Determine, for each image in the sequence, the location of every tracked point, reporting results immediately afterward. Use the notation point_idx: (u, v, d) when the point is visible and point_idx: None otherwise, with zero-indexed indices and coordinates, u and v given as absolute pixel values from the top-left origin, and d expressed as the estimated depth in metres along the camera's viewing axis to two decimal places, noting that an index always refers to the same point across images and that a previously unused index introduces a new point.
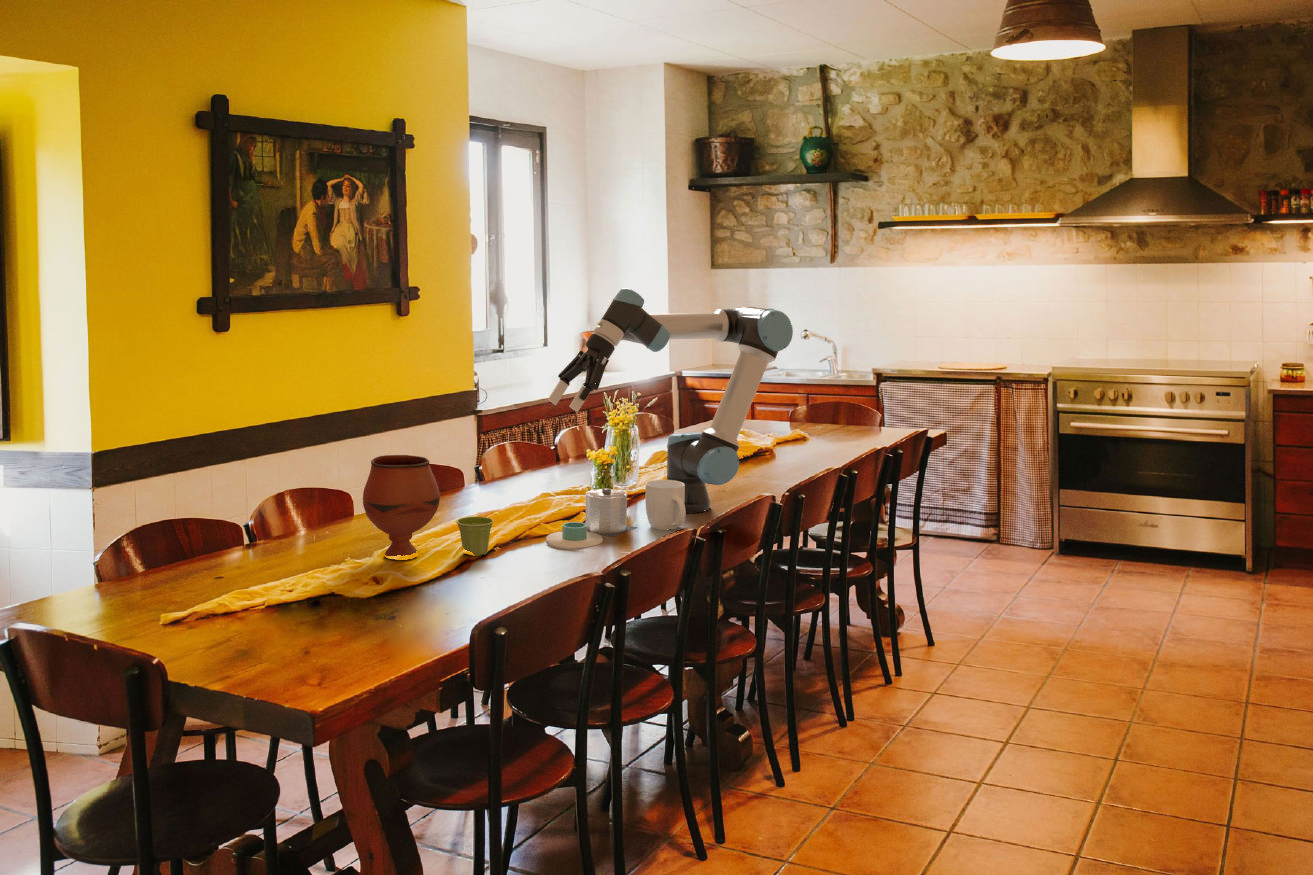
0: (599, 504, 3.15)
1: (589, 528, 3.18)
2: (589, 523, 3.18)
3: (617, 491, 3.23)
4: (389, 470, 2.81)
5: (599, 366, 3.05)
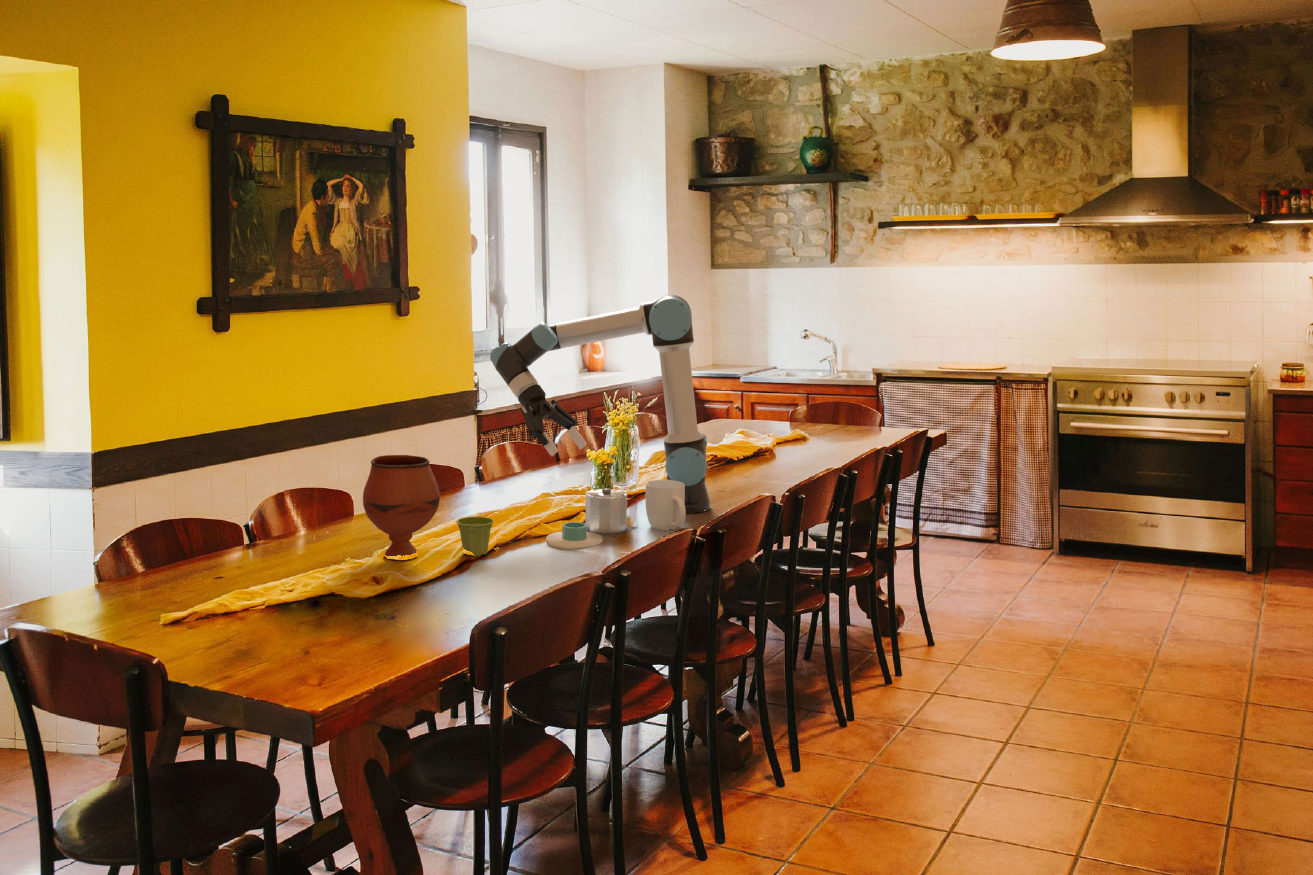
0: (599, 504, 3.15)
1: (589, 528, 3.18)
2: (589, 523, 3.18)
3: (617, 491, 3.23)
4: (389, 470, 2.81)
5: (525, 417, 3.21)
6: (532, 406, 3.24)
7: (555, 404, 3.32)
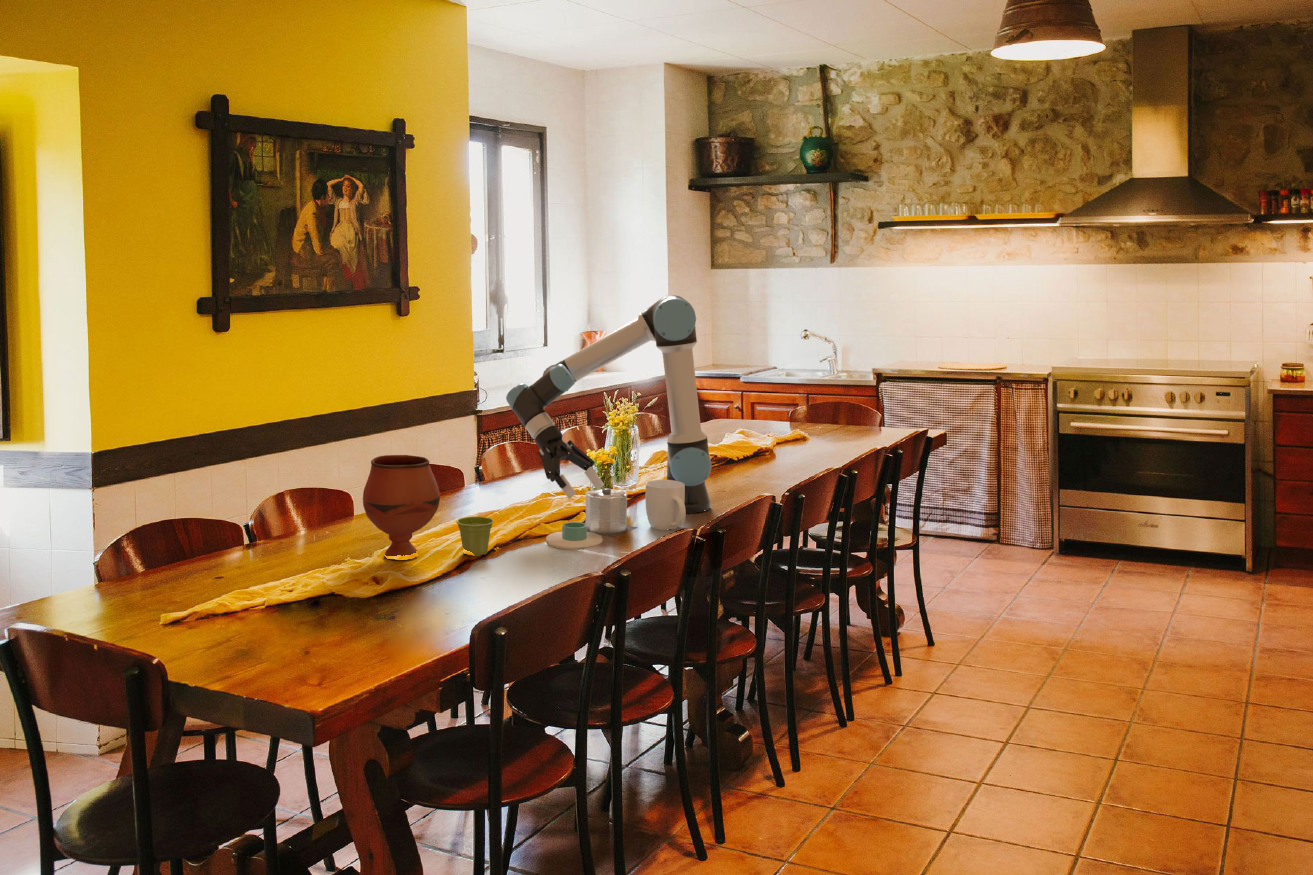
0: (599, 504, 3.15)
1: (589, 528, 3.18)
2: (589, 523, 3.18)
3: (617, 491, 3.23)
4: (389, 470, 2.81)
5: (542, 459, 3.20)
6: (549, 448, 3.23)
7: (572, 445, 3.31)
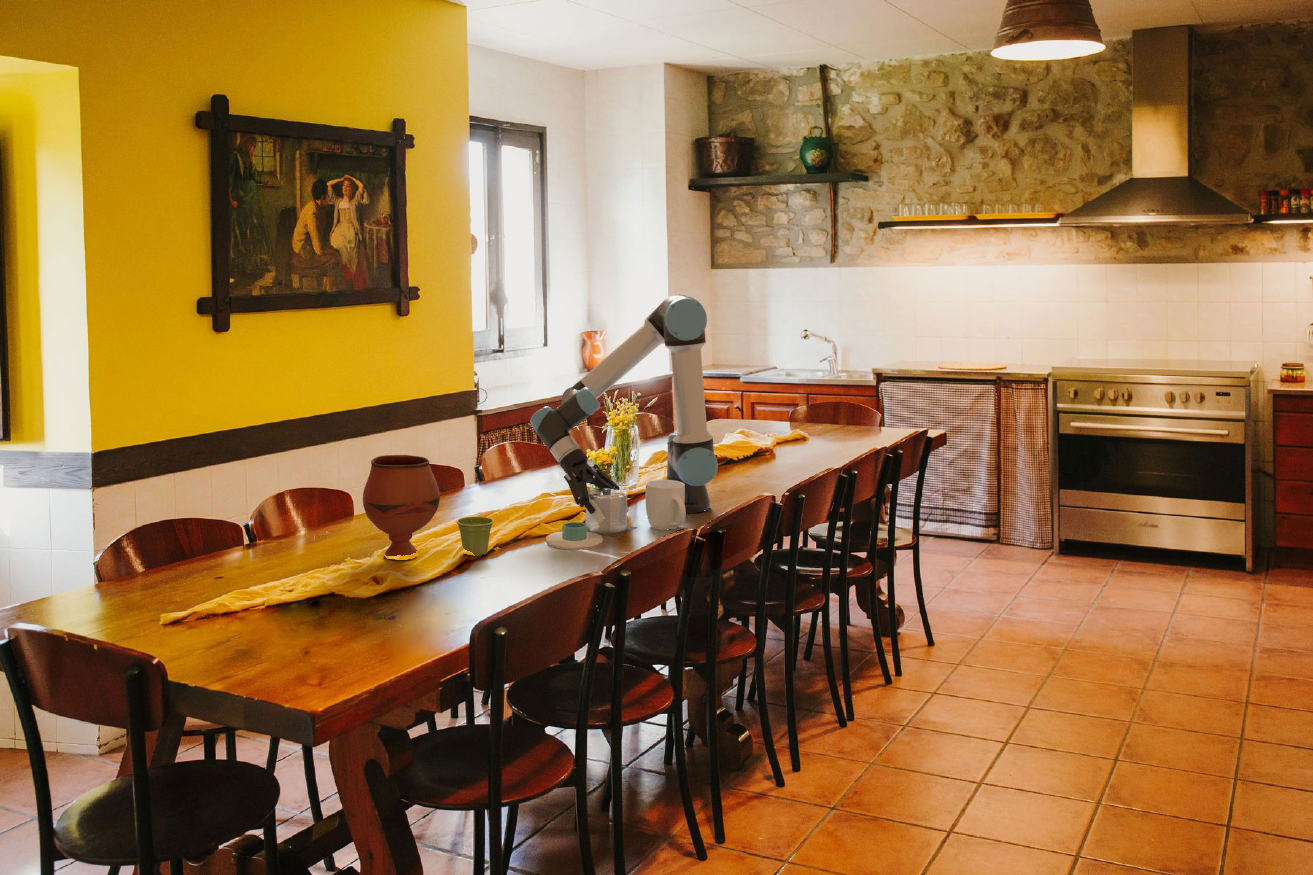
0: (599, 504, 3.15)
1: (589, 528, 3.18)
2: (589, 523, 3.18)
3: (617, 491, 3.23)
4: (389, 470, 2.81)
5: (570, 484, 3.17)
6: (575, 472, 3.20)
7: (597, 468, 3.28)
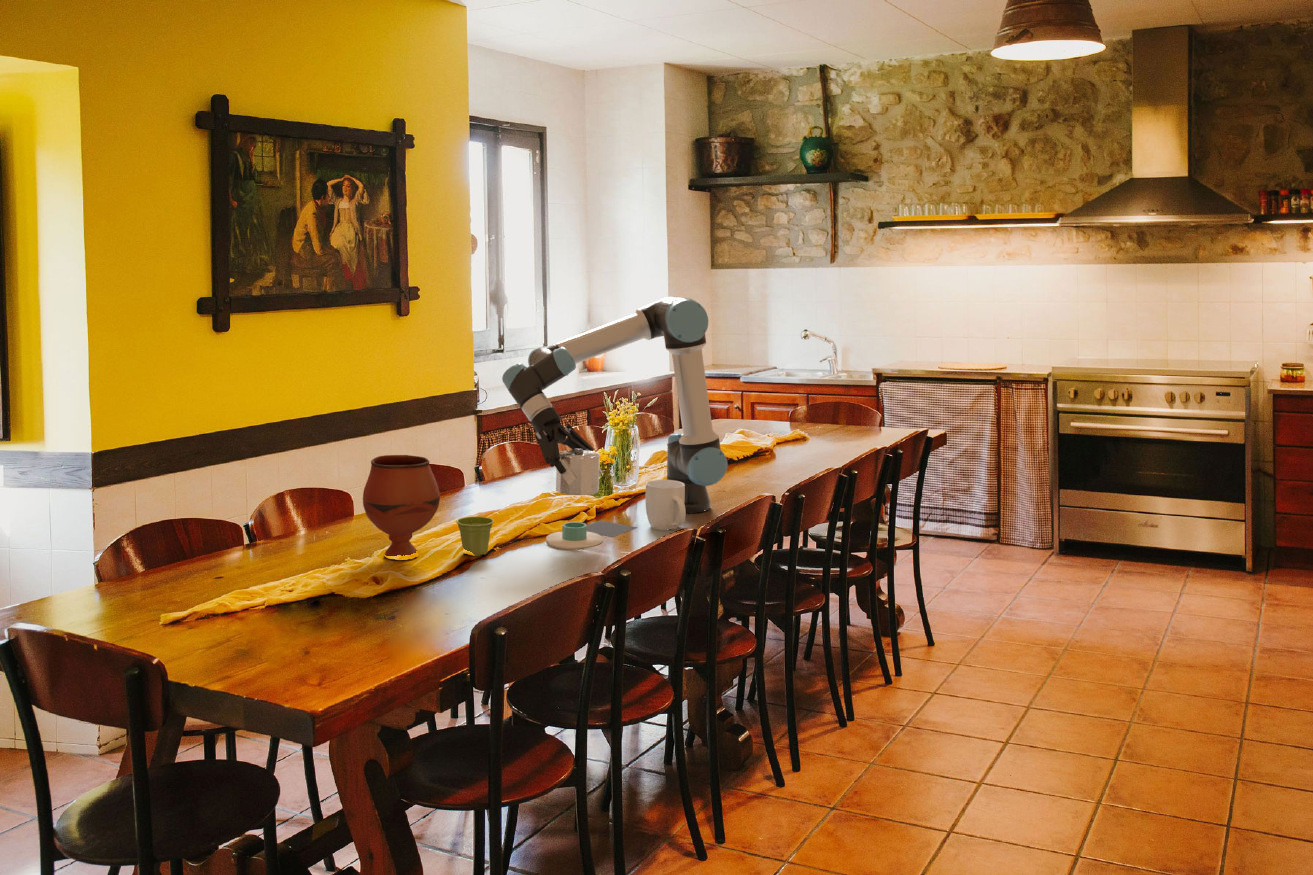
0: (570, 464, 3.03)
1: (559, 489, 3.06)
2: (559, 484, 3.06)
3: (590, 452, 3.11)
4: (389, 470, 2.81)
5: (540, 443, 3.05)
6: (546, 431, 3.08)
7: (571, 429, 3.16)
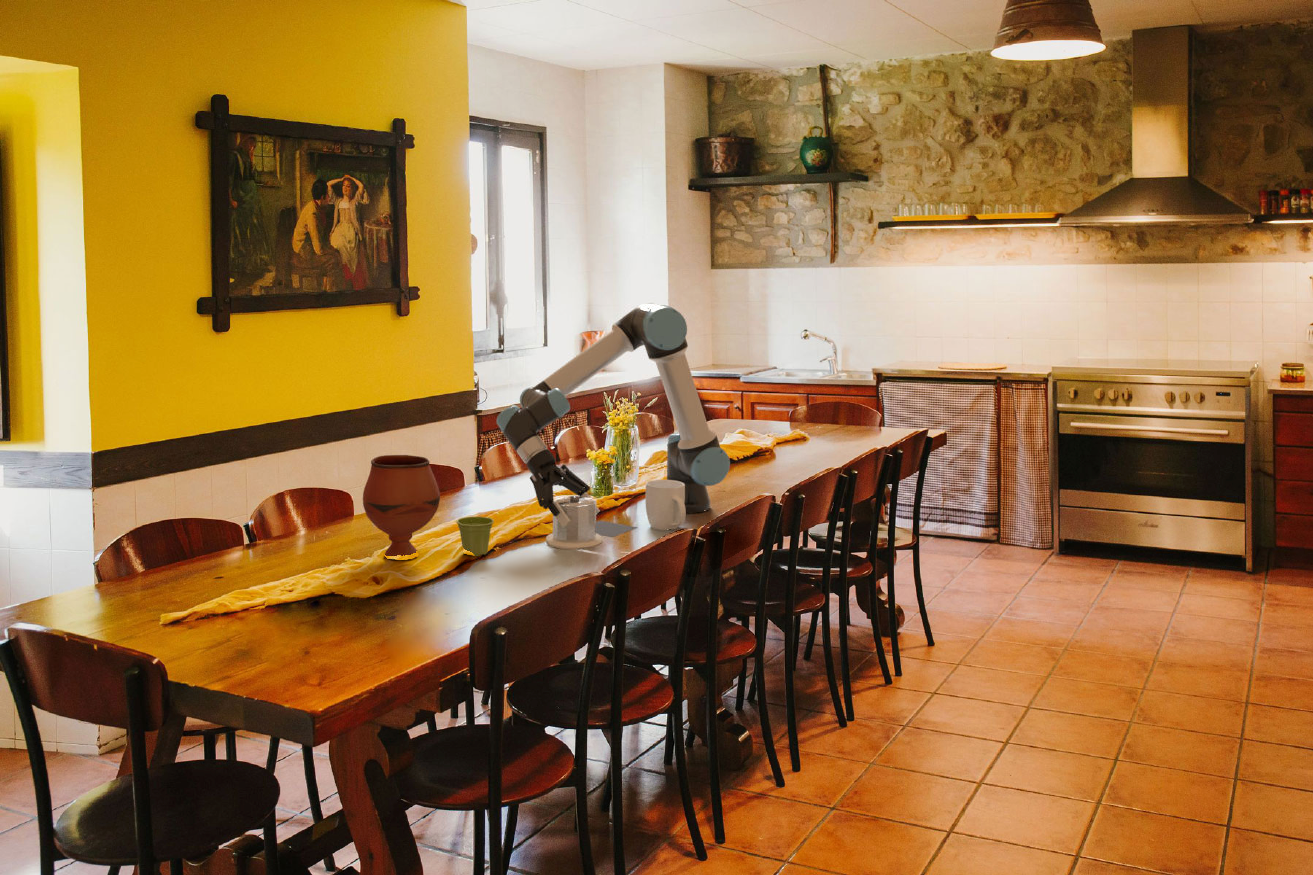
0: (567, 513, 3.02)
1: (556, 537, 3.05)
2: (556, 532, 3.05)
3: (586, 499, 3.10)
4: (389, 470, 2.81)
5: (535, 485, 3.04)
6: (542, 473, 3.07)
7: (566, 469, 3.15)
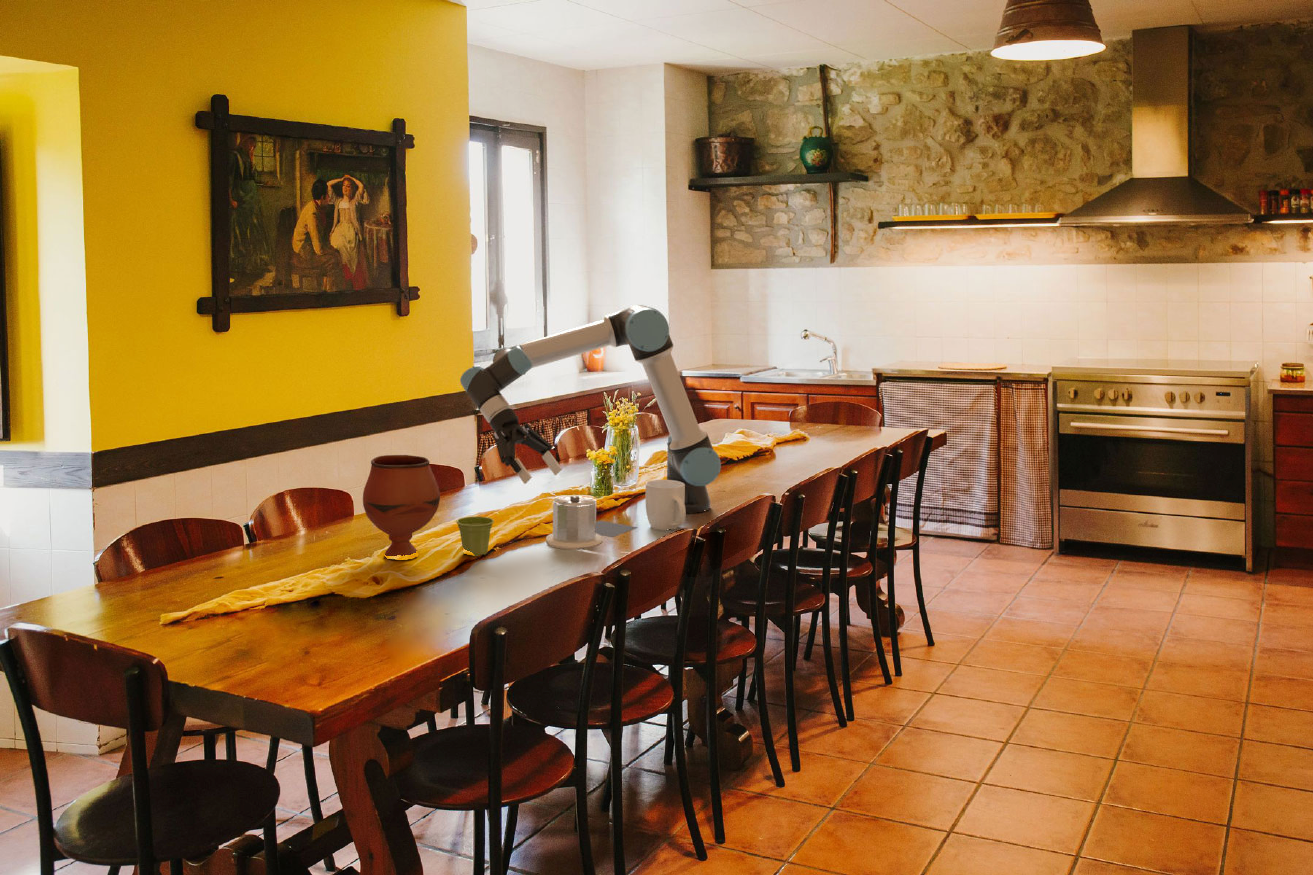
0: (567, 513, 3.02)
1: (556, 537, 3.05)
2: (556, 532, 3.05)
3: (586, 499, 3.10)
4: (389, 470, 2.81)
5: (497, 443, 3.09)
6: (504, 431, 3.12)
7: (529, 428, 3.20)
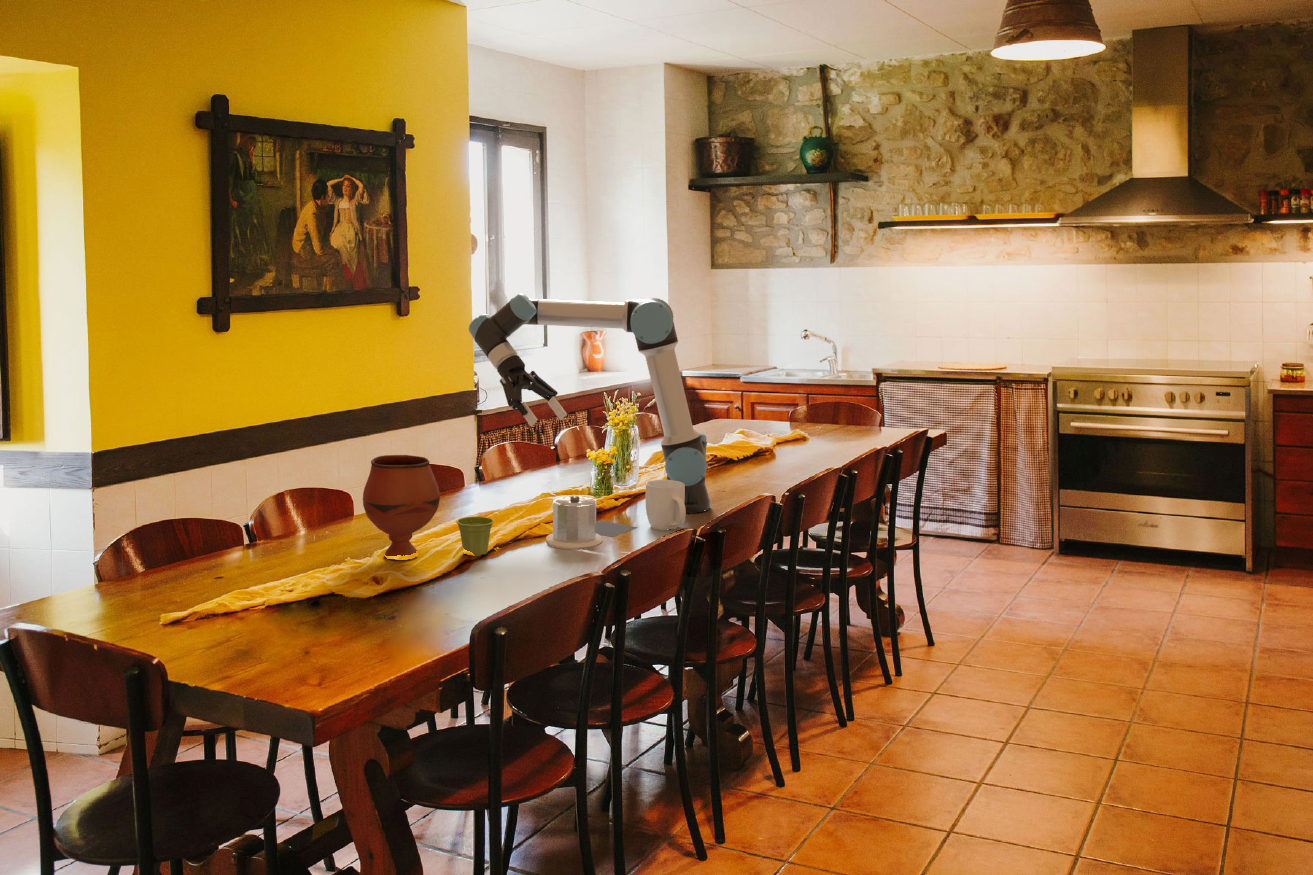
0: (567, 513, 3.02)
1: (556, 537, 3.05)
2: (556, 532, 3.05)
3: (586, 499, 3.10)
4: (389, 470, 2.81)
5: (504, 387, 3.20)
6: (511, 377, 3.23)
7: (535, 375, 3.31)
